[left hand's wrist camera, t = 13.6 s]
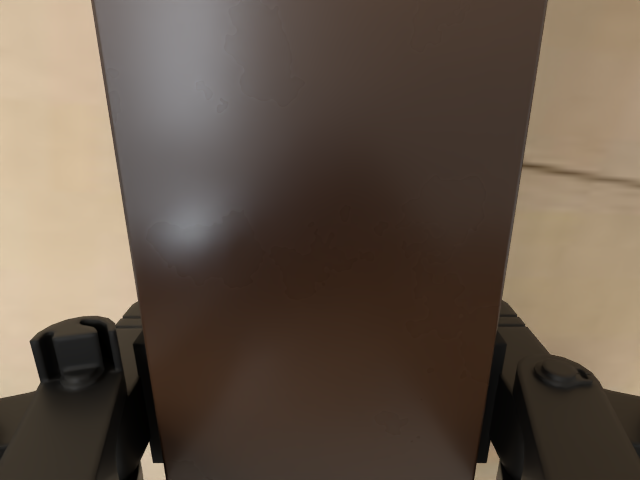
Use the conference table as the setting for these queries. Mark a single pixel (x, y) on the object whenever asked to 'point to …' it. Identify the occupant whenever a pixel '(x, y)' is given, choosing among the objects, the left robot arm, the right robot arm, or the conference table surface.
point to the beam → (319, 224)
